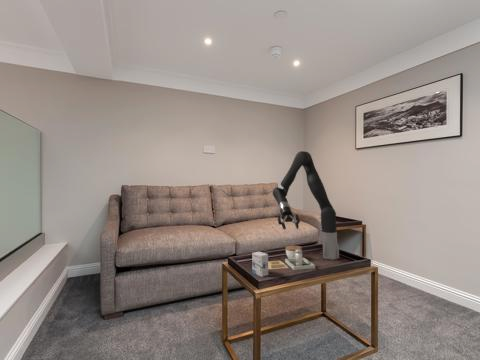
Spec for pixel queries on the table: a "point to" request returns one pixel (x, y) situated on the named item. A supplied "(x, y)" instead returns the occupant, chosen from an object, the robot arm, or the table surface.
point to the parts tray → (309, 266)
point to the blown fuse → (298, 257)
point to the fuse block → (276, 265)
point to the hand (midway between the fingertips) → (291, 228)
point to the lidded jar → (291, 251)
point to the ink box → (260, 263)
